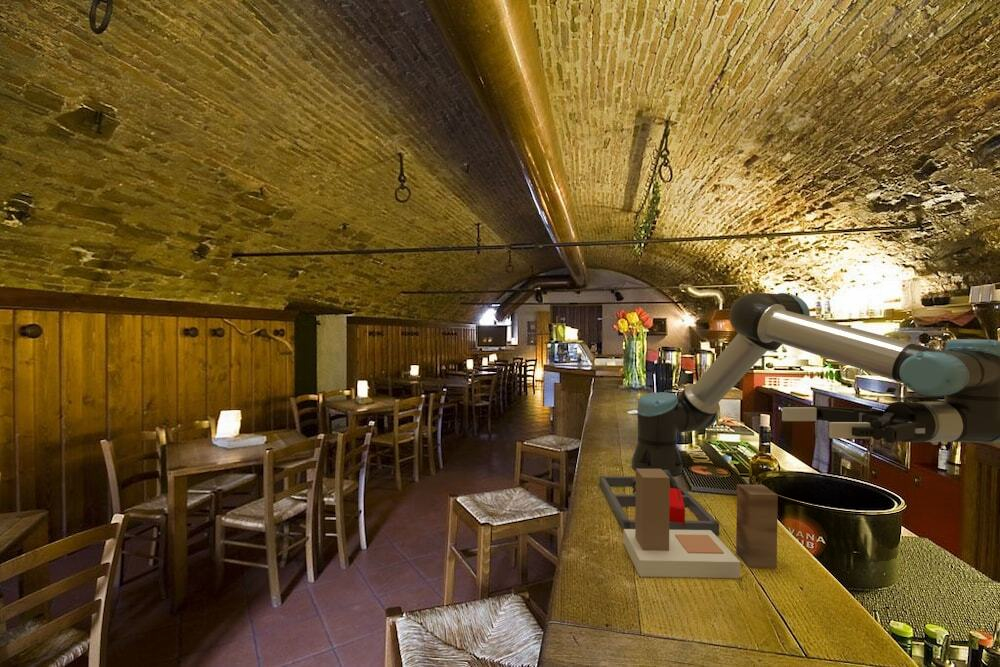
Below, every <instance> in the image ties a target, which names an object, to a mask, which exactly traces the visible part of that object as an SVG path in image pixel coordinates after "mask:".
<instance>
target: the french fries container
mask: <svg viewBox="0 0 1000 667" xmlns="http://www.w3.org/2000/svg"><path fill="white" fill-rule="evenodd" d="M685 519H686V507H684V503H683V498H682V494H681V490H680V489H678V488H670V510H669V521H671V522H679V523H683V526H684V527H685V521H686V520H685Z"/></svg>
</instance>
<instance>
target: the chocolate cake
mask: <svg viewBox="0 0 1000 667" xmlns="http://www.w3.org/2000/svg"><path fill="white" fill-rule="evenodd" d="M663 471H664V472H665V473H666V474H667V475H668V476H669V477H670V488H677V487H676V485H677V484H676V482H675V480H676V479H675V477H674V476H672V475H671V474H670V470H669V469H666V470H663ZM632 483H633V486H634V488H633V489H632V495H636V478H633V479H632Z"/></svg>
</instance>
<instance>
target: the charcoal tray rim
mask: <svg viewBox="0 0 1000 667" xmlns="http://www.w3.org/2000/svg"><path fill="white" fill-rule="evenodd" d="M633 478H636V475H635V476H633V475H631V476H630V475H629V476H628V475H625V476H624V475H599V486H601V487H600V489H601V490H602V492H603V494H604V497H605V498H606V500H607V502H608V504H609V505H610V509H612V512H613V513H614V516H615V517H616V520H617V519H618V520H617V522H618V523H619V525H620V527H621V529H622V531H623V530H624V529H635V519H629V518H628V516H627V514H626V513H625V511H624V509H623V507H635V504H636V494H624V493H623V494H619V493H618V494H616V493H614V491H613V490H612V488H611V487H629V488H630V487H634V486H633V483H632V479H633ZM675 482H676V484H677V485H676V487H677V488H678V489H680V490H681V494H682V498H683V503H684V507H685V508H688V509H689V510H690V511H691V512H692V513H693V514H694V515H695V516H696V517H697V519H698V520H685V527H684V526H683V523H679V522H671V521H669V530H711V531H712V532H713V533H714V534H715V535H716V536H719V535H720V523H719V522H718V520H717V519H715V517H714V516H712V514H711V513H710V512H709V511H707V509H705V507H703V506H702V504H700V503H699V502H698V500H696V499H695V498H694V496H692V495H691V494H690V493H689V492H688V491H687V489H685V488H684V487H683V486H682V485H681V483H679V482H678V481H677V479H675ZM634 488H635V487H634Z"/></svg>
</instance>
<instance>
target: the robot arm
mask: <svg viewBox="0 0 1000 667" xmlns="http://www.w3.org/2000/svg"><path fill="white" fill-rule="evenodd" d="M728 315H729V316H728V318H729V323H730V325H731V327H732V328H733V330H734V331H736V333H737V334H736V335H735V336H734V337H733V339H732V340H731V341H730V342H729V344H728V345H727V346H726V347H725V348H724V349H723V351H722V352H720V354H719V355H718V357H717V358H716V359H714V361H713V362H712V364H711V365H710V366H709V367H708V368H707V370H706V371H705V372H703V374H702V375H701V377H699V379H698V380H697V381H696V382H695V383H693V384H692V383H690V384H688V385H686V386H685V387H684V388H683V390H681V392H680V393H679V394H678V395H676V394H675V393H672V392H663V391H660V392H650V393H645V394H643V395H641V396H640V397H639V399H638V402H637V403H638V404H637V408H636V409H637V444H636V446H635V449H634V453H633V455H632V458H631V467H632V469H633V470H635V471H636V469H662V470H666V469H669V470H670V474H671V475H672V476H673V477H674V476H678V475H681V474H682V473H683V472H682V469H683V470H684V468H683V466H684V464H683V461H682V458H681V455H680V451H679V449H678V446H677V445H678V444H677V443H678V434H681V433H687V432H693V431H695V432H697V431H699V432H700V431H703V430H706V429H708V428H711V427H712V426H713V425H714V424H715V422H716V421H717V419H718V414H717V413H718V412H719V410H720V402H721V401H722V399H724V398H725V397H726V395H727V394H728V393H729V392H730V391H731V390H732V389H733V388H734V387H735V386H736V385H737V383H739V382H740V380H741V379H743V377H744V376H745V375H746V374H747V373H748V372H749V371H750V370H751V369H752V367H753V366H755V365H756V363H757V362H758V361H759V360H760V359H762V357H763V356H764V355H765V354H766V353H767V352H774V351H777V350H778V349H780V347H781V346H782V345H785V346H789V347H791V348H795V349H798V350H800V351H804V352H806V353H809V354H813V355H817V356H819V357H823V358H826V359H828V360H830V361H831V360H832V361H834V362H837V363H841V364H844V365H847V366H850V367H853V368H856V369H859V370H862V371H865V372H868V373H871V374H874V375H878V376H880V377H884V378H886V379H890V380H893V381H895V382H898V383H901V384H903V385H904V386H905V387H907V388H908V389H909V390H910V391H912V392H915V393H916V394H919V395H922V396H923V395H924V396H930V397H931V396H932V397H944V401H895V402H892V403H890V404H888V406H886V408H885V409H884V410H883V409H876V408H875V409H868V408H865V407H862V408H861V407H860V408H855V407H841V406H825V405H824V406H823V405H814V404H810V405H809V407H808V406H807V407H805V406H804V407H803V406H802V407H800V406H799V407H793V406H791V407H790V406H789V407H788V406H787V407H783V406H782V408H781V421H782V422H811V423H813V424H815V423H816V422H817V421H826V422H828V438H830V439H831V440H833V439H844V440H846V439H847V440H848V439H853V440H854V439H855V440H856V439H857V440H858V439H861V440H862V439H863V440H864V439H865V440H866V439H867V440H869V439H871V438H872V439H873V440H875V441H880V440H881V441H882V440H883V439H884V442H885V443H889V444H892V443H898V442H902V443H931V444H932V445H934V446H937V445H939V443H975V444H976V443H979V444H991V443H1000V341H999V340H997V339H978V338H977V339H976V338H975V339H974V338H973V339H971V338H969V339H967V338H962V339H961V338H954V339H948V340H947V341H946V343H945V349H944V350H940V349H936V348H932V347H929V346H926V345H925V346H924V345H921V344H916V343H913V342H909V341H905V340H901V339H897V338H894V337H890V336H886V335H882V334H878V333H875V332H871V331H866V330H863V329H858V328H855V327H852V326H846V325H843V324H839V323H836V322H831V321H829V320H825V319H821V318H817V317H812V316H811V313H810V308H809V307H808V305H807V303H806V302H805V301H804V300H803V299H802V298H801V297H799V296H796V295H795V294H789V293H786V292H780V293H779V292H778V293H768V292H767V293H766V292H751V293H746V294H744V295H742V296H740V297H738V298H737V299H736V300H735V301H734V303H732V305H731V307H730V310H729V314H728Z"/></svg>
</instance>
